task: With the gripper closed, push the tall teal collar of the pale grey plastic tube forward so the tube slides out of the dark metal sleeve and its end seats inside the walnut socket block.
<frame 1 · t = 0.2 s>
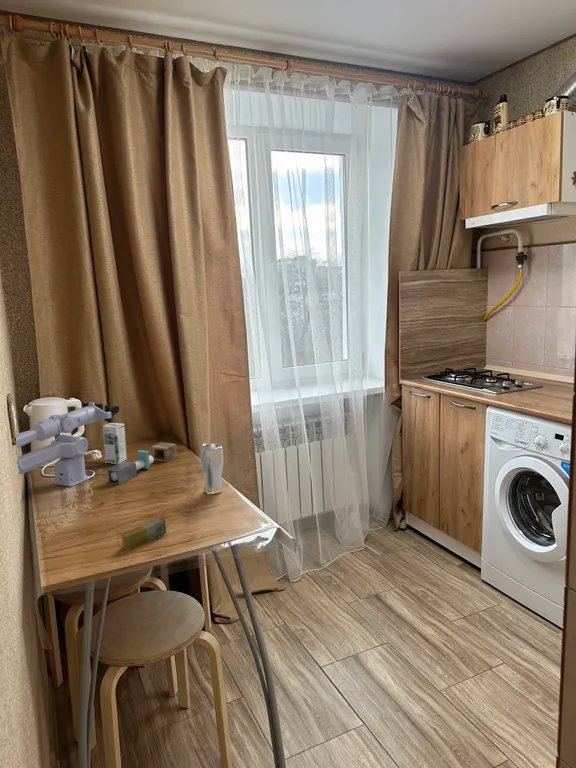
hand: (110, 407, 201), 21 cm above the table, tool horizontal, fingers open, 7 cm apart
sleeve: (122, 479, 187), on the table
syrup box: (116, 462, 206), on the table
medication box: (144, 541, 142), on the table
slip tube: (132, 464, 192), point 3 cm above the table, slide at 0.0 cm
beer glass: (213, 491, 175), on the table
socket block: (164, 458, 209), on the table
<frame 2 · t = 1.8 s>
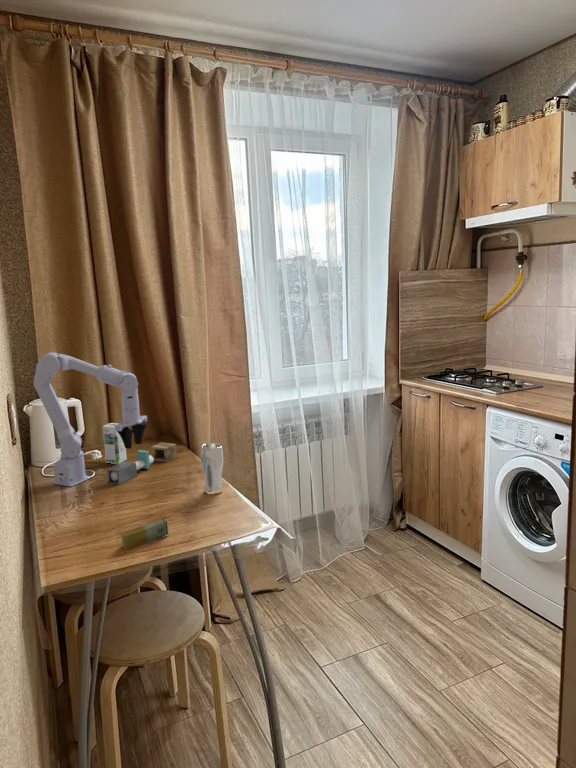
hand: (133, 446, 192), 10 cm above the table, tool pointing down, fingers open, 5 cm apart
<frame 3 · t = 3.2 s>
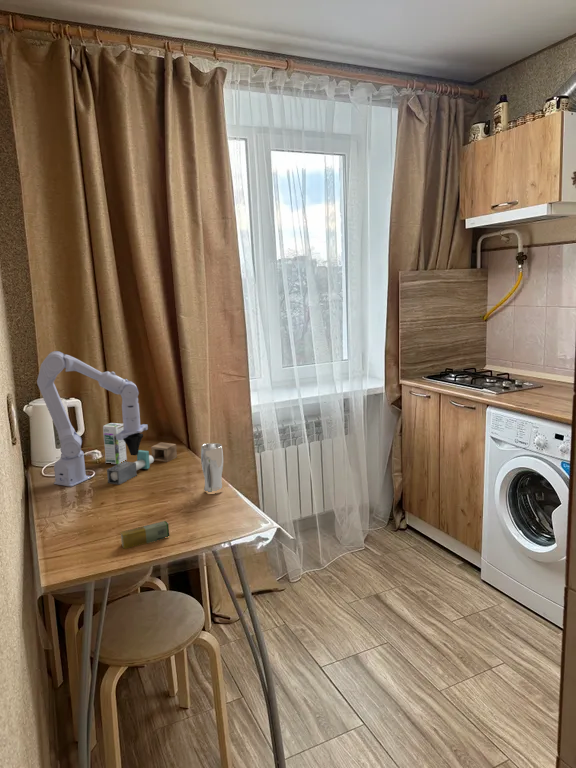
hand: (134, 454, 192), 7 cm above the table, tool pointing down, fingers closed
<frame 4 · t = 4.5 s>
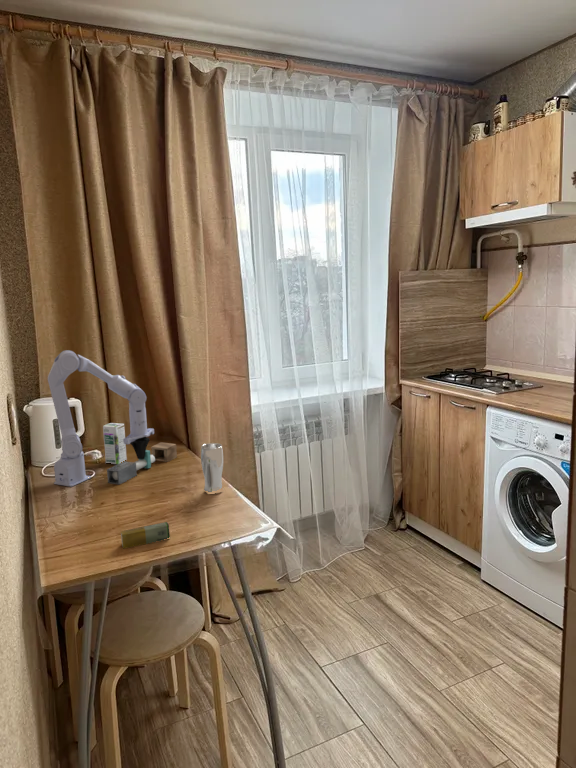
hand: (140, 458, 196), 4 cm above the table, tool pointing down, fingers closed
slip tube: (134, 463, 193), point 3 cm above the table, slide at 0.8 cm, touching gripper
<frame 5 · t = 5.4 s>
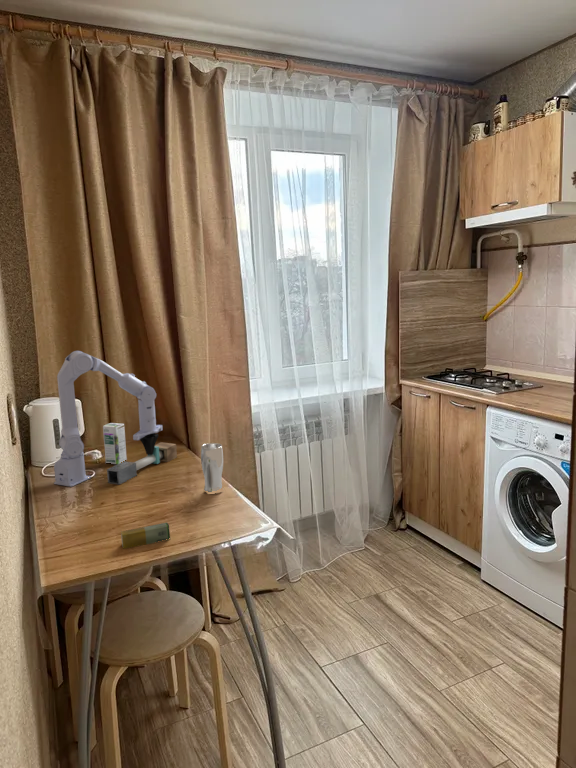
hand: (149, 454, 200), 4 cm above the table, tool pointing down, fingers closed
slip tube: (143, 459, 197), point 3 cm above the table, slide at 6.0 cm, touching gripper
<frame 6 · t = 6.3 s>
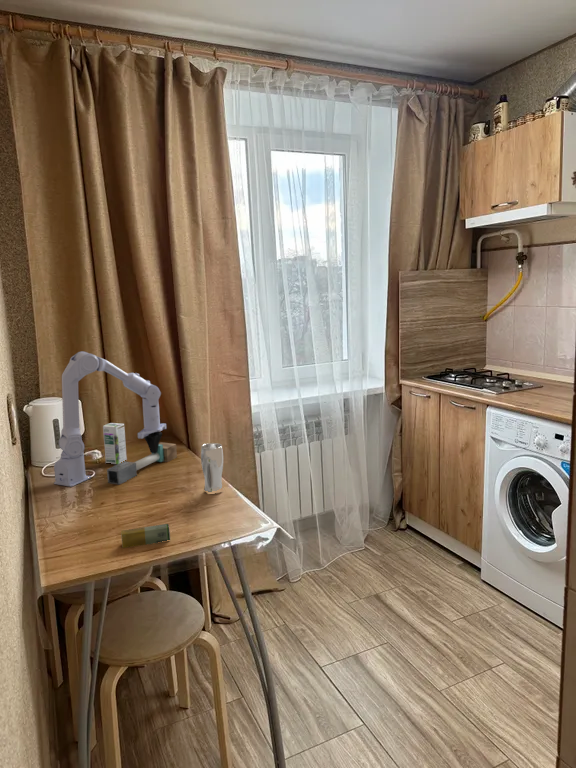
hand: (153, 452, 203), 4 cm above the table, tool pointing down, fingers closed
slip tube: (147, 457, 200), point 3 cm above the table, slide at 8.4 cm, touching gripper
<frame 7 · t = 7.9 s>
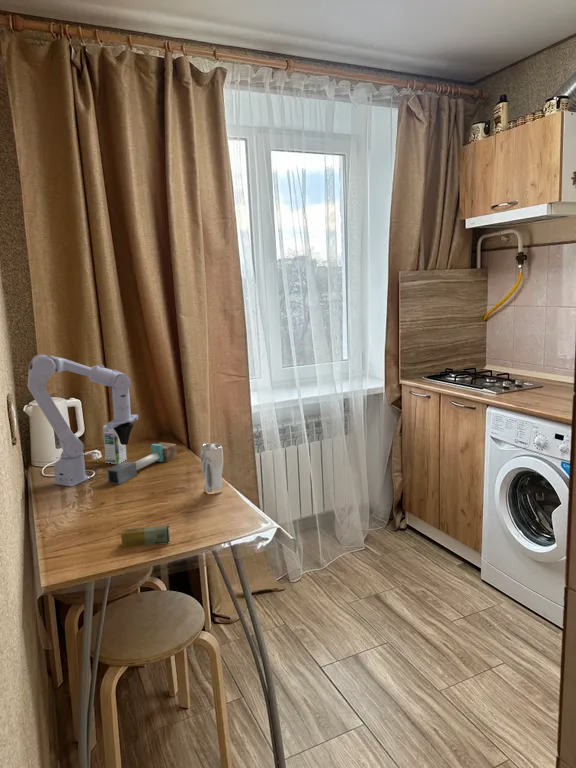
hand: (124, 444, 194), 10 cm above the table, tool pointing down, fingers closed
slip tube: (147, 457, 200), point 3 cm above the table, slide at 8.4 cm
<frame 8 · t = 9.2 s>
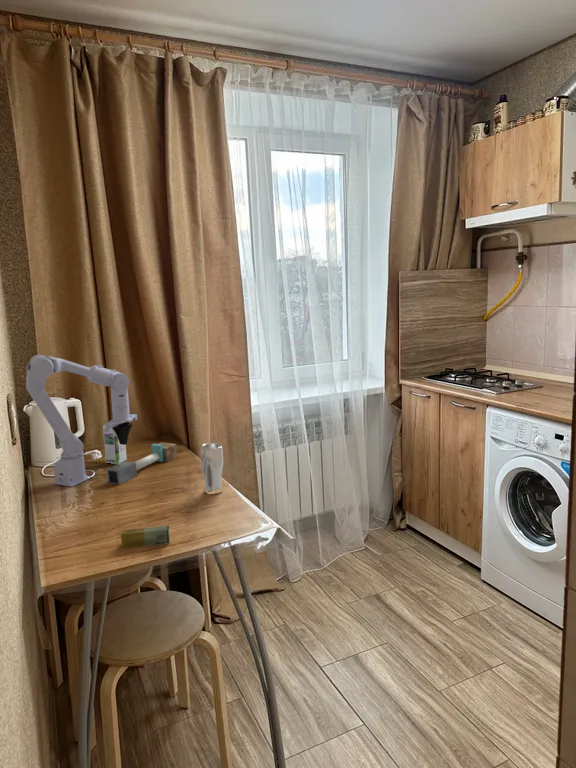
hand: (123, 444, 194), 10 cm above the table, tool pointing down, fingers closed
at the end: slip tube slide at 8.4 cm; the gripper is holding nothing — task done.
